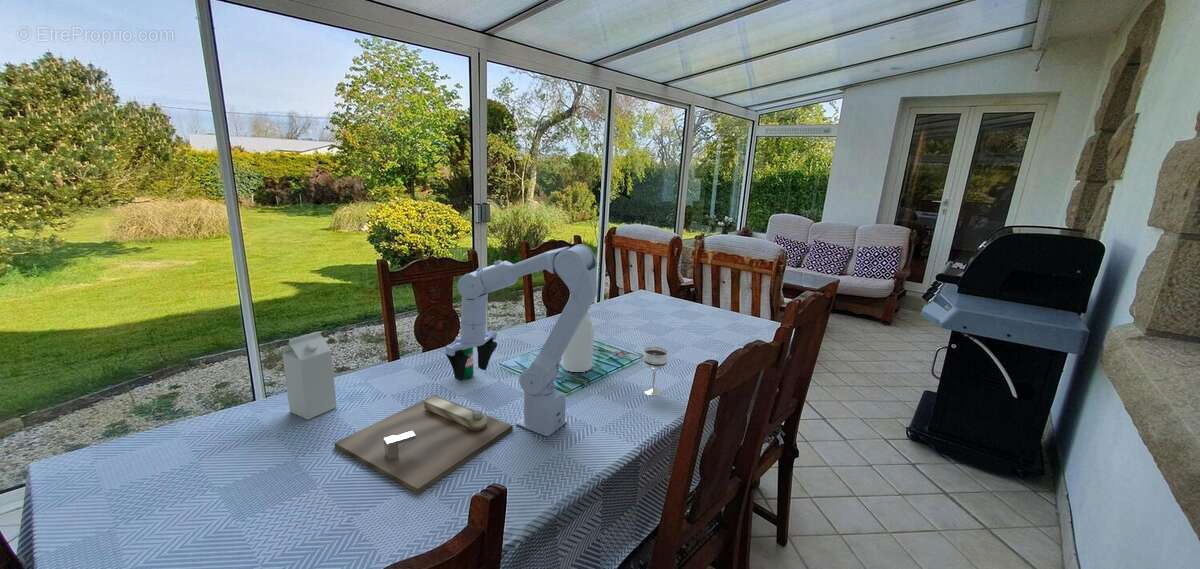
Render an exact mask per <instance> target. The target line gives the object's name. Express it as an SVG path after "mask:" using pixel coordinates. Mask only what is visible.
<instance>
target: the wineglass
mask: <svg viewBox="0 0 1200 569" xmlns="http://www.w3.org/2000/svg"><path fill="white" fill-rule="evenodd" d="M643 351H644V354H643V356H642V359H643V360H642V361H643V363H644V365H645V366H646V367H647V368H648V369H651V371H652V387H646V388H645V389H643V392H644V394H646V395H648V396H660V395H661V394H662V393H663V392H662V390H661V389H660V388H657V387H655V381H656V372H657V371H658V370H661V369H663V368H665V366H666V365H667V363H668V360H669V358H668V355H669V351H668V350H667V349H665V348H663V347H659V346H649V347H646V348H644V349H643Z"/></svg>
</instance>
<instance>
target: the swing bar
mask: <svg viewBox="0 0 1200 569" xmlns="http://www.w3.org/2000/svg"><path fill="white" fill-rule="evenodd" d="M430 397H431V396H430ZM428 398H429V397H428ZM426 399H427V398H426ZM424 400H425V399H424ZM424 409H427V410H429V411H431V412H434V413H436V414H438V415H441V416H443V417H446V418H448V419H450V420H453V421H455V422H457V423H460V424H462V425H465V426H467V427H469V429H470V430H473V431H480V430H483V429H485V428H486V426H487V417H486V415H487V414H485V413H483V411H482V410H475V412H473V411H470V410H468V409H465V408H463V407H460V406H458V405H455V404H453V403H450V402H448V401H445V400H443V399H440V398H437V397H435V396H434V397H431V398H429V399H427V400H425V401H424ZM484 414H485V415H484Z"/></svg>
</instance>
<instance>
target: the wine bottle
mask: <svg viewBox="0 0 1200 569" xmlns="http://www.w3.org/2000/svg"><path fill="white" fill-rule="evenodd" d="M591 320H592V319H591V318H590V314H589V310H588V311H587V313H586V315H585V316H584V318H583V320H582V321H581V323H580V325H579V327H578V328H577V330H576V332H575V334H574V335H573V337H572V339H571V341H570V342H569V344H568V346H567V348H566V349H565V351H564V353H563V355H562V356H561V358H562V359H561V361H560V362H561V367H562V369H563V370H565V371H566V372H568V371H570V372H569V373H571V372H584V373H586V372H585V371H587V372H589V371H590V370H591V369H592V367H593V361H594V358H593V357H594V355H593V354H594V336H595V335H594V334H595V332H594V327H593V323H592V321H591ZM588 370H589V371H588Z"/></svg>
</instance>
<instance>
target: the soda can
mask: <svg viewBox="0 0 1200 569" xmlns="http://www.w3.org/2000/svg"><path fill="white" fill-rule="evenodd" d="M457 339H458V335H457V336H456V337H455V339H454V341H456V340H457ZM463 352H464V355H467V356H469V358H468V360H467V362H466V366H465V373H464V379H463V380H468V379H470V378H472V377H473V376H474V371H475V370H474V368H475V367H474V347H471V348H468V349H465V350H463Z"/></svg>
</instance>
